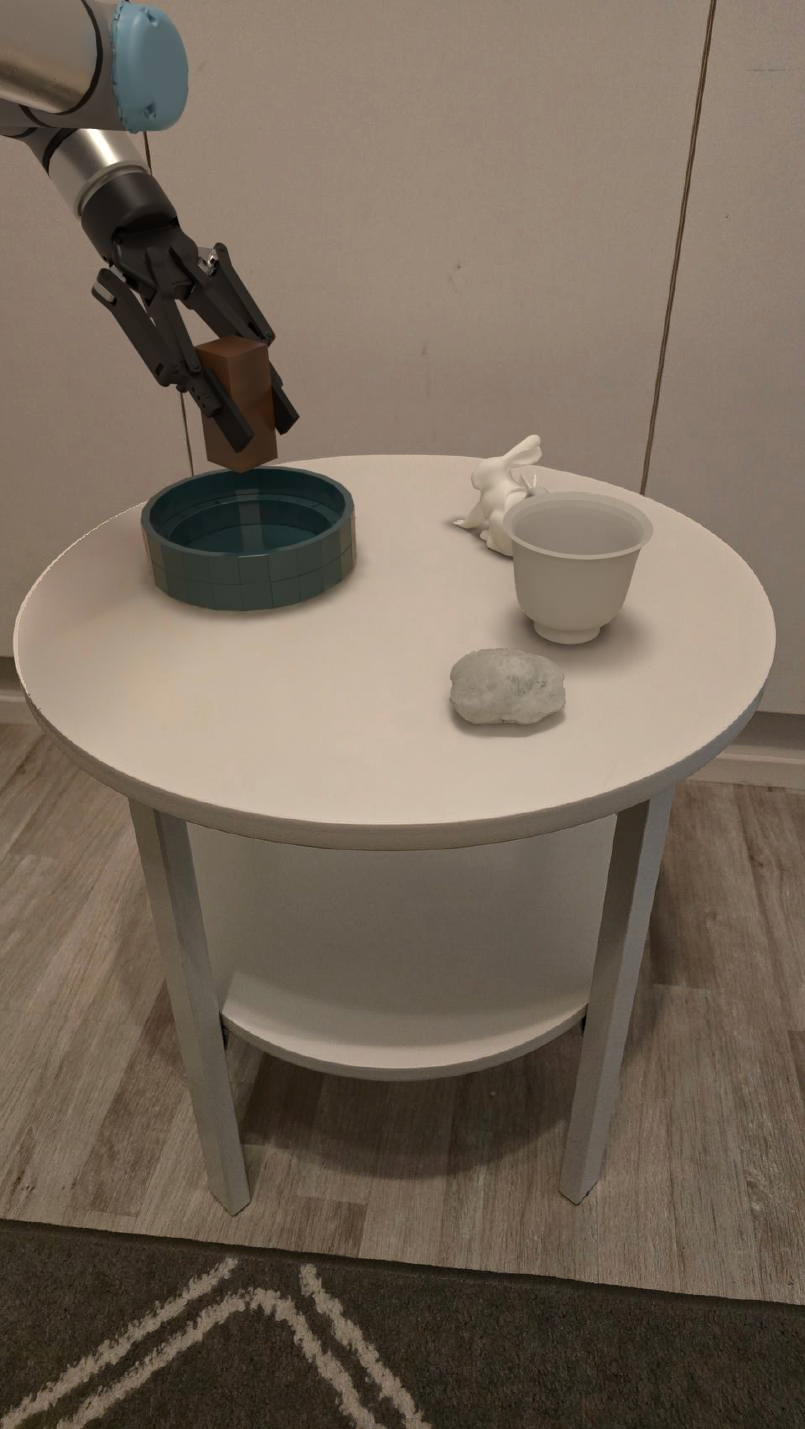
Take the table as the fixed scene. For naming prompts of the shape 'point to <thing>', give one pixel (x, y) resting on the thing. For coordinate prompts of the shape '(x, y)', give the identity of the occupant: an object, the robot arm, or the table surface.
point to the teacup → (573, 559)
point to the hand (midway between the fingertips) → (267, 434)
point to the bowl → (250, 538)
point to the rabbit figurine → (501, 492)
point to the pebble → (506, 687)
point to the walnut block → (241, 400)
